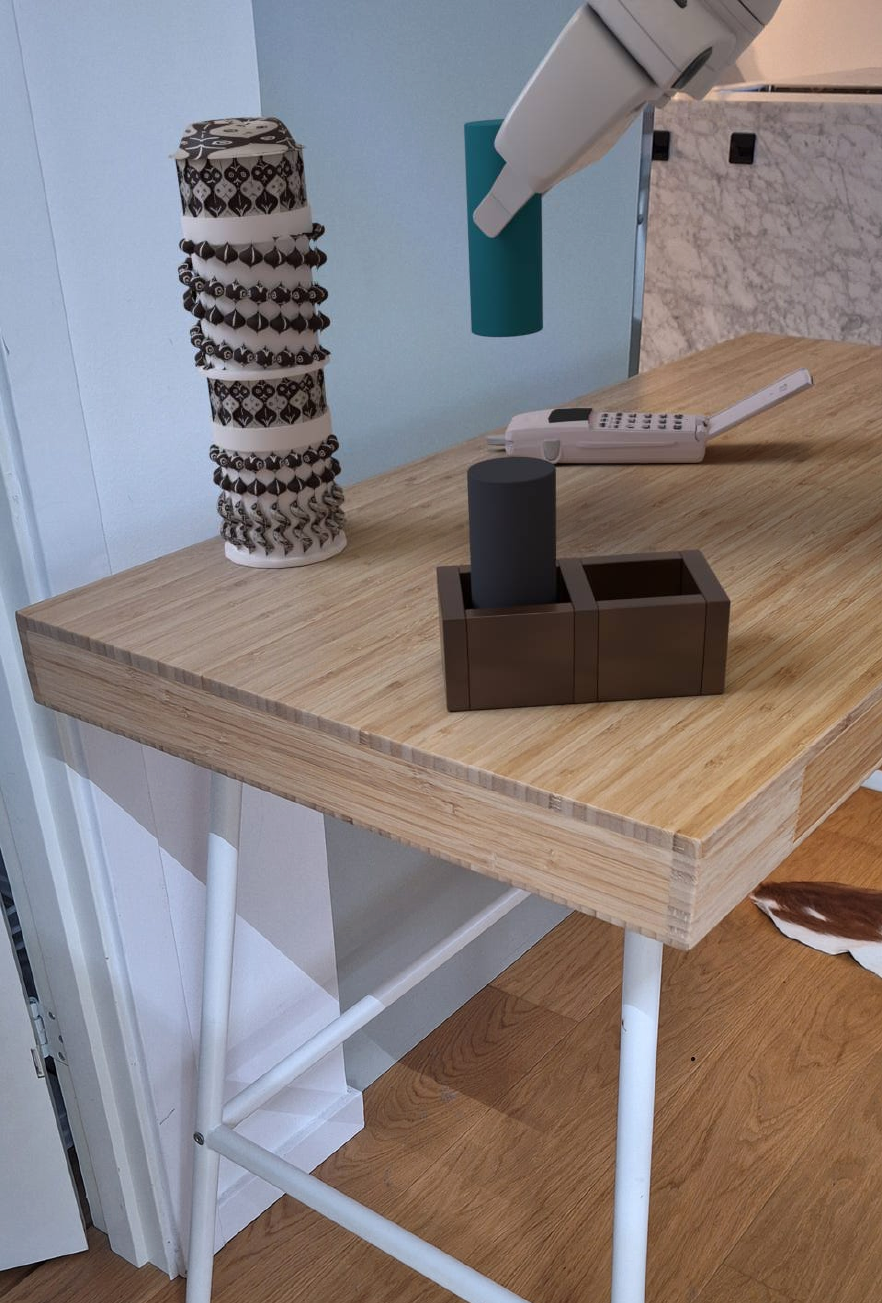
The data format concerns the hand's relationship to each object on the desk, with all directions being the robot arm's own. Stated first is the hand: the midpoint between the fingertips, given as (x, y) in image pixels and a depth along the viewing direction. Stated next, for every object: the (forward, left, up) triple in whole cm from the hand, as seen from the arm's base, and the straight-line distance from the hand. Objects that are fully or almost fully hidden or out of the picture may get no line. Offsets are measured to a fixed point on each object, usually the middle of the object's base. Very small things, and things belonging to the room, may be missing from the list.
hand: (494, 221), depth 80 cm
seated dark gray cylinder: (+1, +22, -19) cm, 29 cm away
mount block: (-2, +22, -19) cm, 29 cm away
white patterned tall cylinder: (+15, -2, -19) cm, 25 cm away
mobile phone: (-12, -19, -19) cm, 30 cm away
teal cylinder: (-1, 0, -6) cm, 6 cm away
